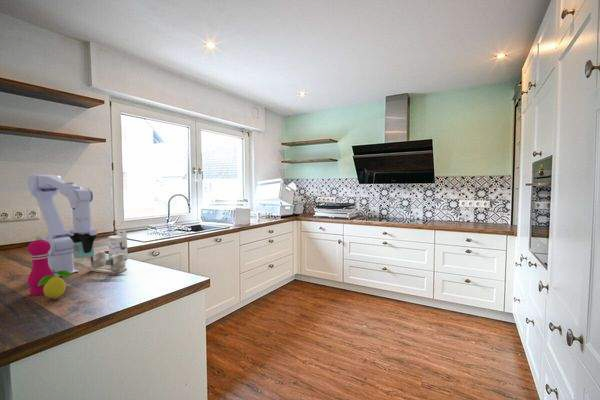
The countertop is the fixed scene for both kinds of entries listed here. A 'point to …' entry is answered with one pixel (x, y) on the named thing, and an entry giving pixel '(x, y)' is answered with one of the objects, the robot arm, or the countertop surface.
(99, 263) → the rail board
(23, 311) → the countertop surface
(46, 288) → the lemon
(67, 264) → the robot arm
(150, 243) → the countertop surface
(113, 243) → the ink box
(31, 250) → the pepper mill
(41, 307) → the countertop surface
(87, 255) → the block
